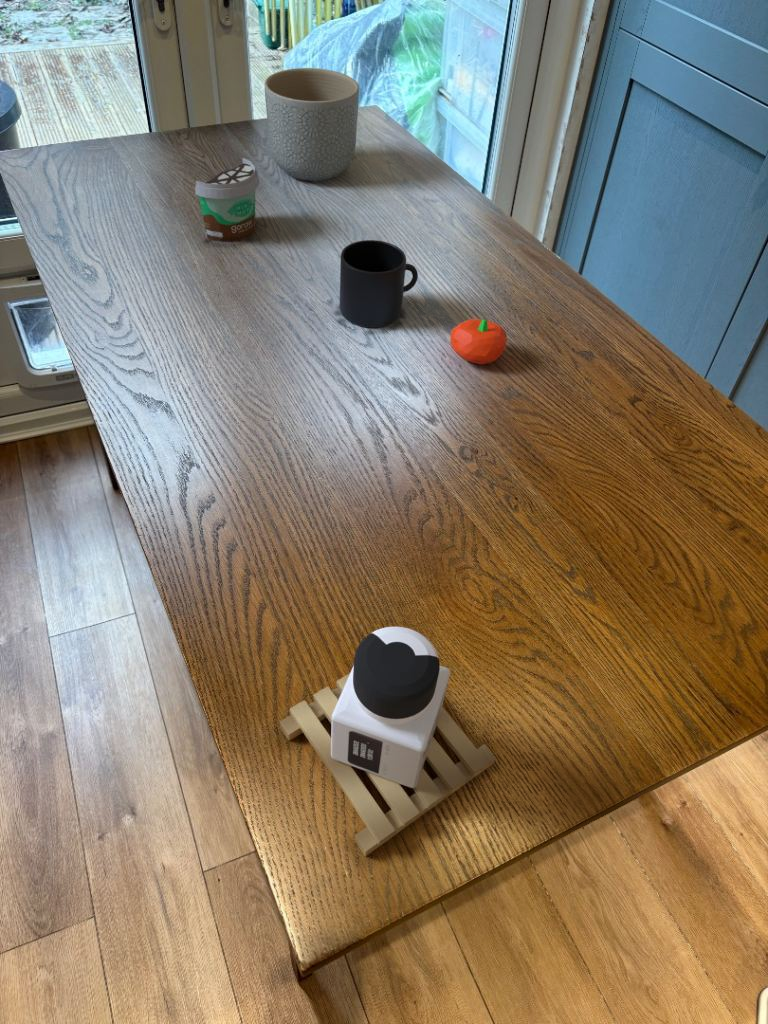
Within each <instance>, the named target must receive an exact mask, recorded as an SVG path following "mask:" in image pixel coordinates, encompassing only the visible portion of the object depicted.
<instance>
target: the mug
mask: <svg viewBox="0 0 768 1024" xmlns="http://www.w3.org/2000/svg"><path fill="white" fill-rule="evenodd" d="M339 266H340V271H339V273H340V274H339V311H340V313H341V315H342V316H343V318H344V319H345V320H346V321H348V322H349V323H351V324H354V325H357V326H359V327H364V328H381V327H386V326H389V325H391V324H394V323H395V322H397V320H399V318H400V317H401V315H402V312H403V300H404V294H405V293H406V292H408V291H411V289H413V288H414V286H415V285H416V284H417V282H418V278H419V274H418V270H417V268H416V267H415V265H413V264H411V263H407V256H406V254H405V252H404V251H403V250H402V249H401V248H400V247H399V246H397V245H395V244H393V243H390V242H387V241H383V240H376V239H365V240H357V241H355V242H351V243H349V244H348V245H346V246H345V247H344V248H343V249H342V250H341V253H340V265H339ZM406 271H409V272H411V275H412V277H411V280H410V281H409V282H408V283H407V284H406V285H405V277H406Z"/></svg>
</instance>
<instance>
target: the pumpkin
mask: <svg viewBox="0 0 768 1024" xmlns="http://www.w3.org/2000/svg"><path fill="white" fill-rule="evenodd" d="M449 338H450V340H449V341H450V345H451V349H453V351H454V352H455V353H456V354H457V355H458V356H459V357H460V358H461V359H463V360H465V361H466V362H470V363H473V364H477V365H478V364H479V365H484V364H485V365H487V364H490V363H493V362H495V361H496V360H497V359H499V357H501V355H502V354H503V352H504V351H505V349H506V346H507V343H508V336H507V333H506V331H505V329H503V327H502V326H501V325H499V324H498V323H495V322H493V321H490V320H489V319H486V318H481V319H480V318H471V319H468V320H465V321H463V322H460V323H459V324H458V325H457V326H455V327H453V328H452V330H451V333H450V335H449Z"/></svg>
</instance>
